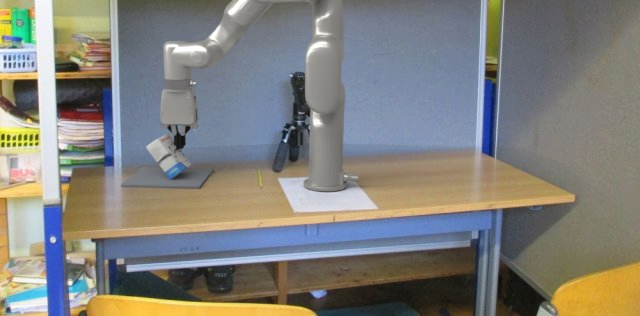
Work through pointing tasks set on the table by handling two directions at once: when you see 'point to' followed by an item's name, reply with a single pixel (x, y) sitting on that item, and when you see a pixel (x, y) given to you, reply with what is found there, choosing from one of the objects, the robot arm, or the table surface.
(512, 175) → the table surface
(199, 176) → the slate mat
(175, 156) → the ink box
